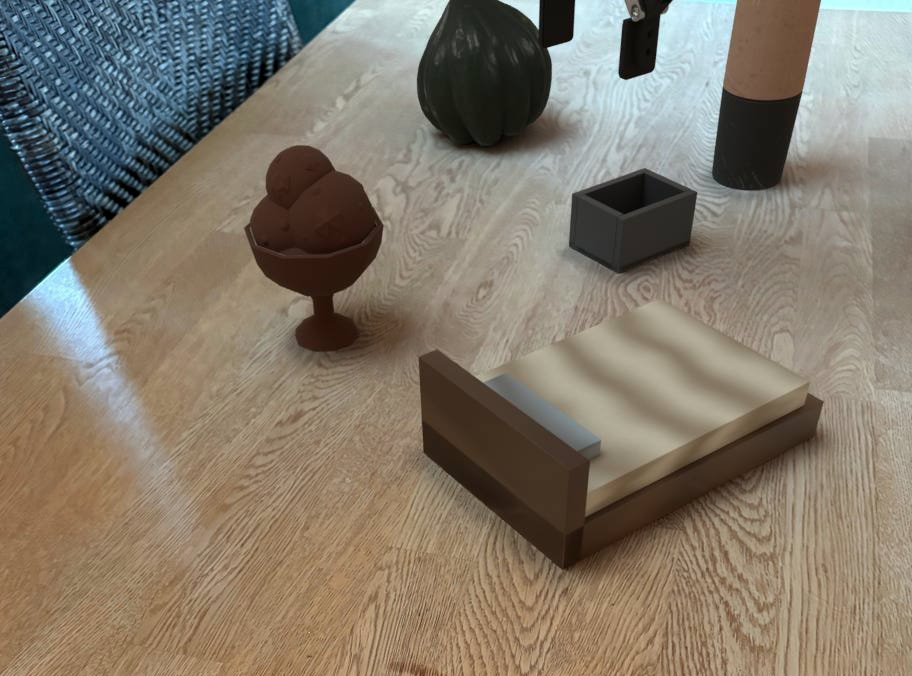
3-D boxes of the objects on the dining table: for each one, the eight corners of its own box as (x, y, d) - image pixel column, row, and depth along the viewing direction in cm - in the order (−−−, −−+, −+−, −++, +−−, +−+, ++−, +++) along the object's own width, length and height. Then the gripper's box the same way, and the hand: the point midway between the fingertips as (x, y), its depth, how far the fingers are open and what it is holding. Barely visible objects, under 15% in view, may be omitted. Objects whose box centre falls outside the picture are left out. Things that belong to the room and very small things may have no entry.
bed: (662, 345, 84) (675, 252, 78) (814, 436, 75) (842, 338, 69) (423, 452, 75) (418, 356, 70) (562, 569, 66) (570, 470, 60)
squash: (594, 90, 110) (537, -50, 107) (482, 130, 105) (419, -16, 102) (532, 149, 123) (480, 26, 120) (430, 187, 118) (374, 60, 115)
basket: (638, 219, 100) (644, 167, 97) (689, 244, 96) (698, 191, 93) (568, 246, 97) (571, 193, 93) (618, 273, 93) (623, 219, 89)
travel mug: (707, 160, 109) (741, -61, 95) (780, 161, 108) (826, -62, 94) (710, 190, 104) (747, -39, 90) (787, 192, 103) (837, -39, 89)
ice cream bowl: (242, 358, 85) (206, 176, 74) (298, 294, 92) (273, 120, 81) (358, 378, 82) (339, 192, 72) (407, 311, 90) (397, 132, 79)
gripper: (749, -220, 64) (708, 76, 76) (574, -241, 74) (562, 23, 87) (660, -204, 61) (632, 100, 74) (490, -228, 71) (491, 43, 84)
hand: (594, 59), depth 80 cm, fingers open, 9 cm apart
